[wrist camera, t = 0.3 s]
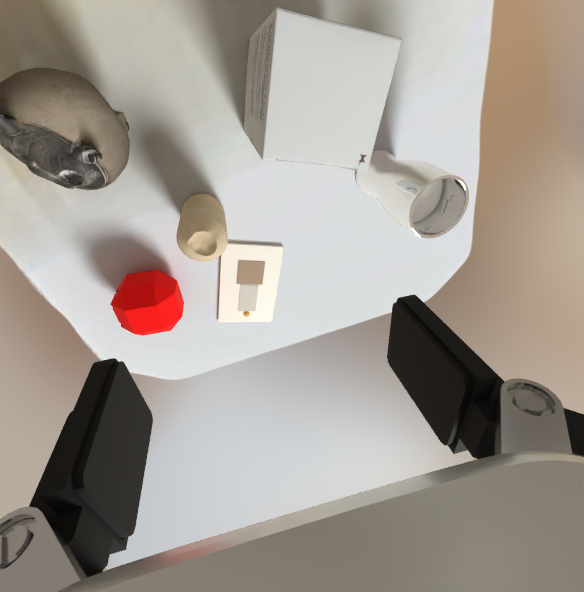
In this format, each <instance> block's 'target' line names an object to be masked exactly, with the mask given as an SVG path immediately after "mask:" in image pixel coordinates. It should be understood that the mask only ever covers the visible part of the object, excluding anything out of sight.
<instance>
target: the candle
mask: <svg viewBox="0 0 584 592" xmlns="http://www.w3.org/2000/svg"><path fill="white" fill-rule="evenodd" d="M177 243H178V246H179V248H180V249H181V251H182V252H183V253H184V254H185V255H186V256H188V257H189V258H191V259H194V260H197V261H210V260H214V259H216V258H218V257H219V256H220V255H221V254H222V253H223V252H224V251H225V249H226V247H227V243H228V236H227V228H226V220H225V213H224V209H223V206H222V205H221V203H220V202H219V201H218V200H217V199H216V198H215V197H213V196H211V195H209V194H205V193H199V194H195V195H192V196H190V197H189V198H188V199H187V200H186V201H185V202H184V204H183V207H182V211H181V216H180V221H179V226H178V231H177Z"/></svg>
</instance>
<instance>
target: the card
mask: <svg viewBox="0 0 584 592" xmlns="http://www.w3.org/2000/svg"><path fill="white" fill-rule="evenodd" d="M283 248H284V247H283V246H277V245H259V244H242V243H227V247H226V249H225V251H224V252H223V253H222V254H221V267H220V291H219V314H218V322H272V318H273V312H274V306H275V299H276V293H277V286H278V280H279V274H280V267H281V261H282V255H283Z"/></svg>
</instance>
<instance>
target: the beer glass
mask: <svg viewBox="0 0 584 592" xmlns="http://www.w3.org/2000/svg"><path fill="white" fill-rule="evenodd" d="M356 183H357V186H358V188H359V189H360V191H361V192H362V193H364V194H366V195H368V196H372V197H375V198H376V199H377V201H378V202H379V204H380V205H381V206H382V208H383V209H384V210H385V212H386V213H387V214H388V215H389V216H390V217H391V218H392V219H393V220H394V221H396V222H397V223H398V224H400V225H401V226H403V227H405V228H406V229H408V230H410V231H412V232H414V233H415V234H416V235H418V236H420V237H423V238H435V237H438V236H441V235H443V234H445V233H447V232H448V231H449V230H451V229H452V228H453V227H454V226H455V225H456V224H457V223H458V222H459V221H460V219H461V218H462V216H463V215H464V213H465V211H466V208H467V205H468V201H469V191H468V187H467V185H466V183H465V182H464V180H462V179H461V178H460V177H458V176H455V175H453V174H451V173H450V172H448V171H446V170H444V169H442V168H440V167H438V166H435V165H433V164H430V163H426V162H422V161H415V160H398V159H396V158H395V157H394V156H393V155H392V154H391V153H389V152H387V151H384V150H377V151H374V152H372V155H371V159H370V162H369V166H368V170H367V172H360V171H357V172H356Z"/></svg>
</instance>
